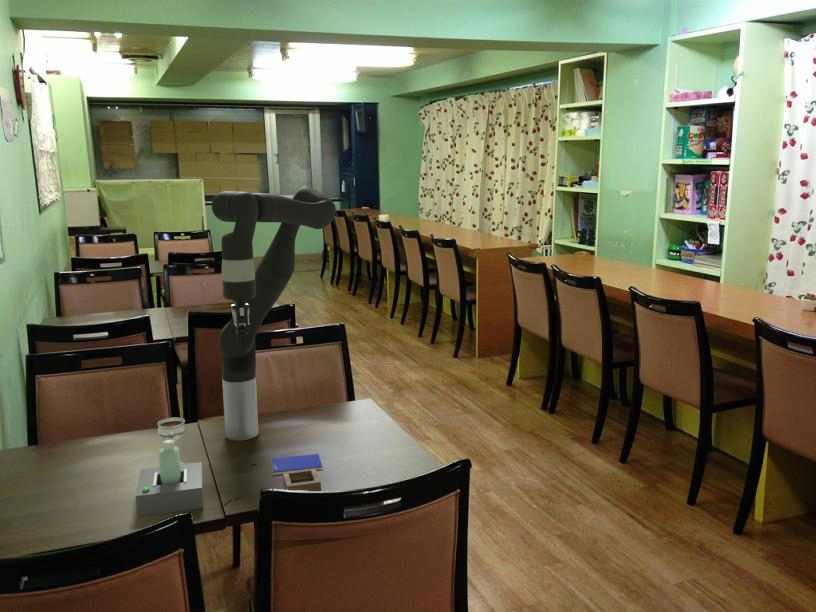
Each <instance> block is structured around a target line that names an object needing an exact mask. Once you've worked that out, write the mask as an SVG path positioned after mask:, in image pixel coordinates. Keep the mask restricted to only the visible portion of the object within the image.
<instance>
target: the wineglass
mask: <svg viewBox="0 0 816 612" xmlns="http://www.w3.org/2000/svg"><path fill="white" fill-rule="evenodd" d="M185 422H186V420H185V418H183V417H167V418H164V419H160V420H158V422H157V427H158V429H157V434H158V436H159V438H160V439H161V440H163V441H166V440H173V441H174V444H176V442H177V441H179V440H181V439H182V438H183V437H184V435H185V434H186V424H185ZM181 464H185V463H184V462H182V461H180V465H181Z"/></svg>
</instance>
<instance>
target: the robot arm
mask: <svg viewBox="0 0 816 612" xmlns="http://www.w3.org/2000/svg"><path fill="white" fill-rule="evenodd" d="M211 211H212V213H213V215H214V217H215V218H217V219H218V220H220V221H222V222H224V223H225V222H226V223H235V224H234V227H233V231H231V232H228V233H225V234H223V235H222V236H221V258H222V260H221V261H222V262H221V278H222V279H221V280H222V296H223V298H224V299H225V300H230V301H232V302H233V304H231V307H230V308H231V313H232V318H231V319H230V321H229V322H227V323H226V324H225V325H224V326H223V328H222V330H221V332H220V333H219V335H218V346H219V349H220V351H221V353H222V365H221V380H222V395H223V396H222V397H223V414H224V427H225V428H224V431H225V432H224V433H225V437H226V439H228V440H231V441H245V440H246V441H248V440H251V439H254V438H255V437H257V436H258V435H259V419H258V418H259V417H258V416H259V415H258V414H259V413H258V398H257V397H258V394H257V393H258V392H257V375H256V372H257V371H256V367H257V358H256V357H257V355H256V352H257V351H256V335H257V334H258V332H259V330H260V327H261V325H262V324H263V321H264V320H265V317H267V315H268V313H269V312H270V310H272V308H273V307H274V306H275V304H276V302H277V301H278V300H279V298H280V296H282V293H283V292H284V290H285V289H286V287H287V285H288V284H289V281H290V280H291V278H292V276H293V275H294V272H295V265H296V239H297V235H298V232H299V229H300V228H301V226H303V227H308V228H312V229H314V230H321V229H325V228H327V227H329V225H331V223H332V222H333V221H334V218H335V217H336V216H335V215H336V212H337V207H336V205H335V203H334V201H333V200H332V199H330V198H329V197H328V196H326V195H324V194H323V193H322V192H320V191H318V190H316V189H314V188H313V187H311V186H308V185H304V186H302V187H300V188H299V189H298V190H297V192H295V193H294V195H293V197H292V198H290V197H287V196H284V195H279V194H276V193H267V192H256V193H255V192H254V193H253V192H249V191H236V190H235V191H231V190H230V191H229V190H227V191H226V190H225V191H220V192H219V193H217V194H216V195H215V196H214V197H213V198H212V201H211ZM257 223H280V224H279V227H278V229H277V232H276V234H275V235H274V237H273V240H272V241H271V242H270V244H269V247H268V248H267V250H266V251H265V253H264V255H263V257H262V258H261V259H260V262H259V263H258V266H257V267H256V269H255V262H254V251H253V250H254V248H253V239H254V235H255V231H256V226H257Z"/></svg>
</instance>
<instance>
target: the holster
mask: <svg viewBox="0 0 816 612" xmlns="http://www.w3.org/2000/svg"><path fill="white" fill-rule="evenodd" d="M307 479H308V480H309V479H311V480H309V481H301V482H295V483H292V482H294V481H299V480H307ZM282 480H283V484H284V487H285V490H286V489H288V490H309V492H315V491H321V489H322V483H321V479H320V477H319V474H318V470H316V469H315V468H312V469H304V470H296V471H288V472H283V474H282Z"/></svg>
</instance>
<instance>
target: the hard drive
mask: <svg viewBox="0 0 816 612" xmlns="http://www.w3.org/2000/svg"><path fill="white" fill-rule="evenodd" d="M270 464H271V469H272V471H271V472H272V474H273V475H272V476H275V475H276V476H277V475H283V472H288V471H296V470H304V469H312V468H315V469H316V471H319V470H321V471H322V470H323V464H322V461H321V458H320V454H319V453H314V454H313V453H312V454H304V455H303V454H302V455H301V454H300V455H294V456H280V457H273V458H270Z"/></svg>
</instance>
